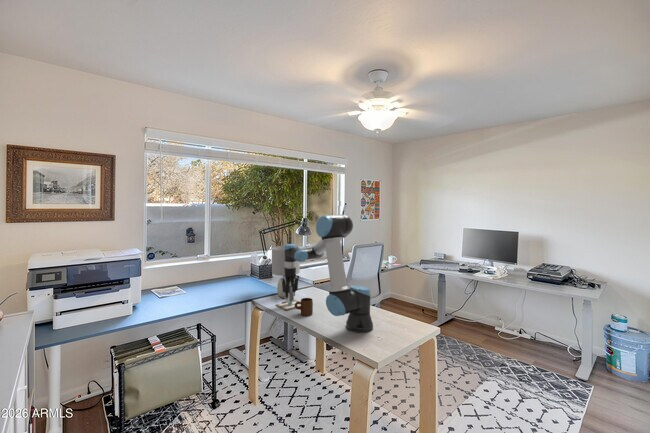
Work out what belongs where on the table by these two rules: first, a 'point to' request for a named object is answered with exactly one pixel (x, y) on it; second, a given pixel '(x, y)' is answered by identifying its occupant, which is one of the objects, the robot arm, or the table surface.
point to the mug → (305, 306)
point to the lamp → (281, 266)
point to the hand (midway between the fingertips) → (290, 301)
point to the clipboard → (286, 306)
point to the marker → (290, 294)
